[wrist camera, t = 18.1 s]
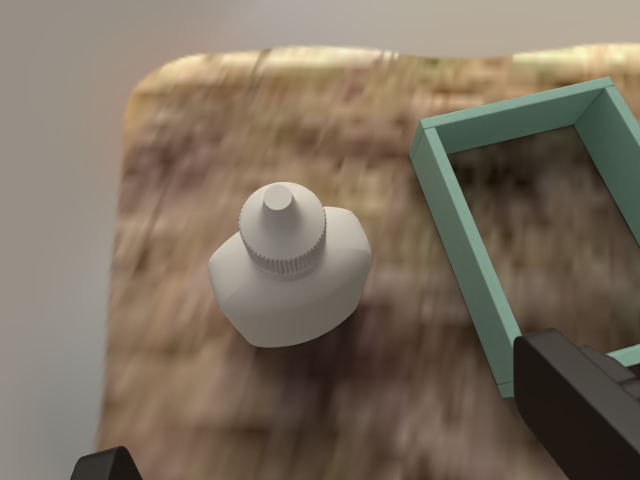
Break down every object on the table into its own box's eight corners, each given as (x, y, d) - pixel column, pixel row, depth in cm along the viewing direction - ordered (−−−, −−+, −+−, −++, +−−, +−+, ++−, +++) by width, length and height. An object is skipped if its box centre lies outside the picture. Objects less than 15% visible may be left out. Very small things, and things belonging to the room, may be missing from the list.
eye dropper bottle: (251, 257, 24) (188, 110, 12) (361, 272, 23) (399, 136, 12) (233, 344, 22) (141, 265, 11) (351, 361, 22) (383, 299, 11)
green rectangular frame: (703, 340, 22) (762, 327, 19) (501, 398, 21) (531, 394, 18) (577, 114, 27) (610, 75, 24) (408, 154, 26) (419, 119, 23)
